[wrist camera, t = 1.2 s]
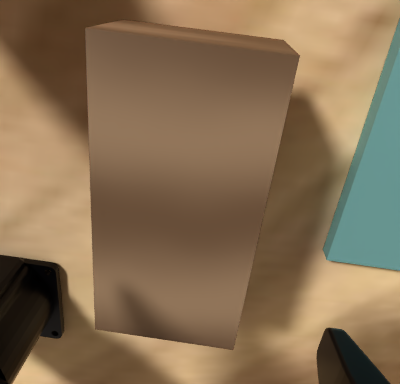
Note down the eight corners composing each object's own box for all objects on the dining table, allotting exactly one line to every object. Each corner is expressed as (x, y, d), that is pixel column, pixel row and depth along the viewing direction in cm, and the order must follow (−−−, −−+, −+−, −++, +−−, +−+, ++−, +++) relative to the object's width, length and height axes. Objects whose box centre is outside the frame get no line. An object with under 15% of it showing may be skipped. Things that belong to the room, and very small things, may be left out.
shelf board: (233, 285, 19) (233, 350, 16) (120, 269, 20) (95, 329, 16) (283, 40, 14) (299, 55, 10) (123, 19, 14) (85, 27, 10)
